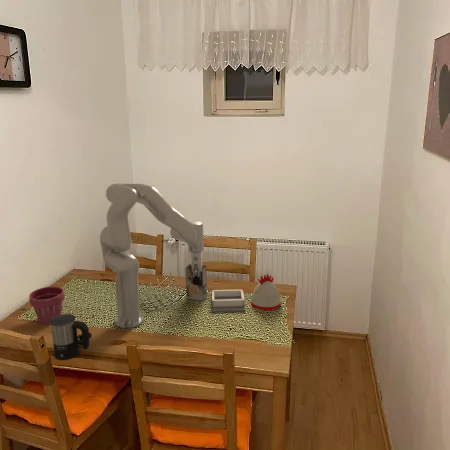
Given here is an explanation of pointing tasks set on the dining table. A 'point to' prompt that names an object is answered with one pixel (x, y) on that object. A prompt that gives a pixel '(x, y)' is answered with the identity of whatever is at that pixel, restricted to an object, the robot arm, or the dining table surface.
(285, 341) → the dining table surface
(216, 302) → the dock
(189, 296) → the coffee box
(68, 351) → the milk frother
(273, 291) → the grey red beanie hat
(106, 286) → the dining table surface
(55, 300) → the plant pot
